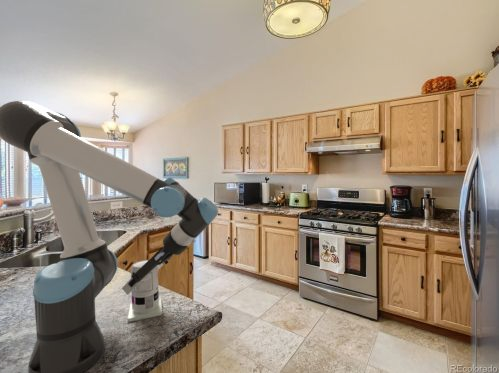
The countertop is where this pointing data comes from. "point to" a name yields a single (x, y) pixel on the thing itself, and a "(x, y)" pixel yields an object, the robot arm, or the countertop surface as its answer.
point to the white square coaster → (138, 316)
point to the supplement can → (145, 290)
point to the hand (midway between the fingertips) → (138, 281)
